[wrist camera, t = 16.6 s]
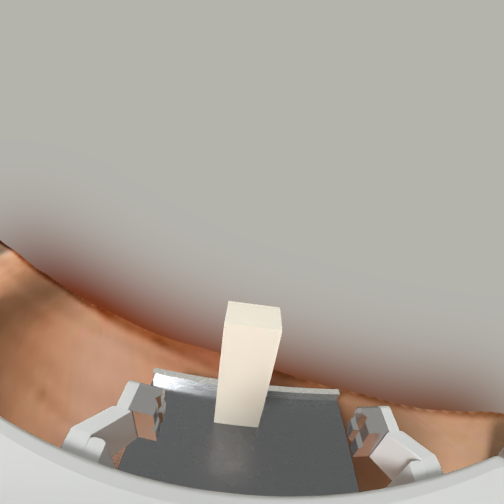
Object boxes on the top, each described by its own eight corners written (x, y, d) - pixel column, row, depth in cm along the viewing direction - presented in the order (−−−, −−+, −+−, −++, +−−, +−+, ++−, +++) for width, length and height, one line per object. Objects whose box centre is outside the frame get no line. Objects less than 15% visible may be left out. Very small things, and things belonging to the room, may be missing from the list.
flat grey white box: (121, 495, 21) (111, 475, 19) (157, 392, 37) (155, 366, 36) (347, 515, 21) (366, 498, 20) (326, 412, 38) (338, 387, 36)
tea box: (258, 427, 30) (282, 330, 25) (213, 422, 30) (224, 322, 25) (258, 401, 34) (279, 306, 30) (218, 396, 34) (229, 299, 29)
